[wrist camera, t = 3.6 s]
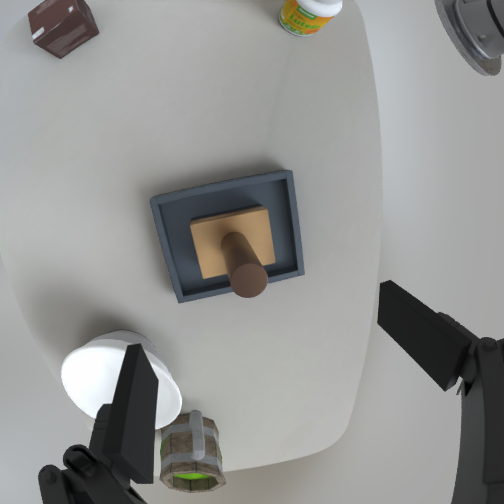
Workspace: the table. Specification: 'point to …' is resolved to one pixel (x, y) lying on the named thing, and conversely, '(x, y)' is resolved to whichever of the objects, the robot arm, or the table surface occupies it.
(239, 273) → the peg on wooden base
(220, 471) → the mug
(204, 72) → the table surface
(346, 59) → the table surface
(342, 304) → the table surface
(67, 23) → the box
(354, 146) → the table surface
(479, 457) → the robot arm
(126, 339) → the bowl
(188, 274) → the tray
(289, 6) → the supplement bottle
